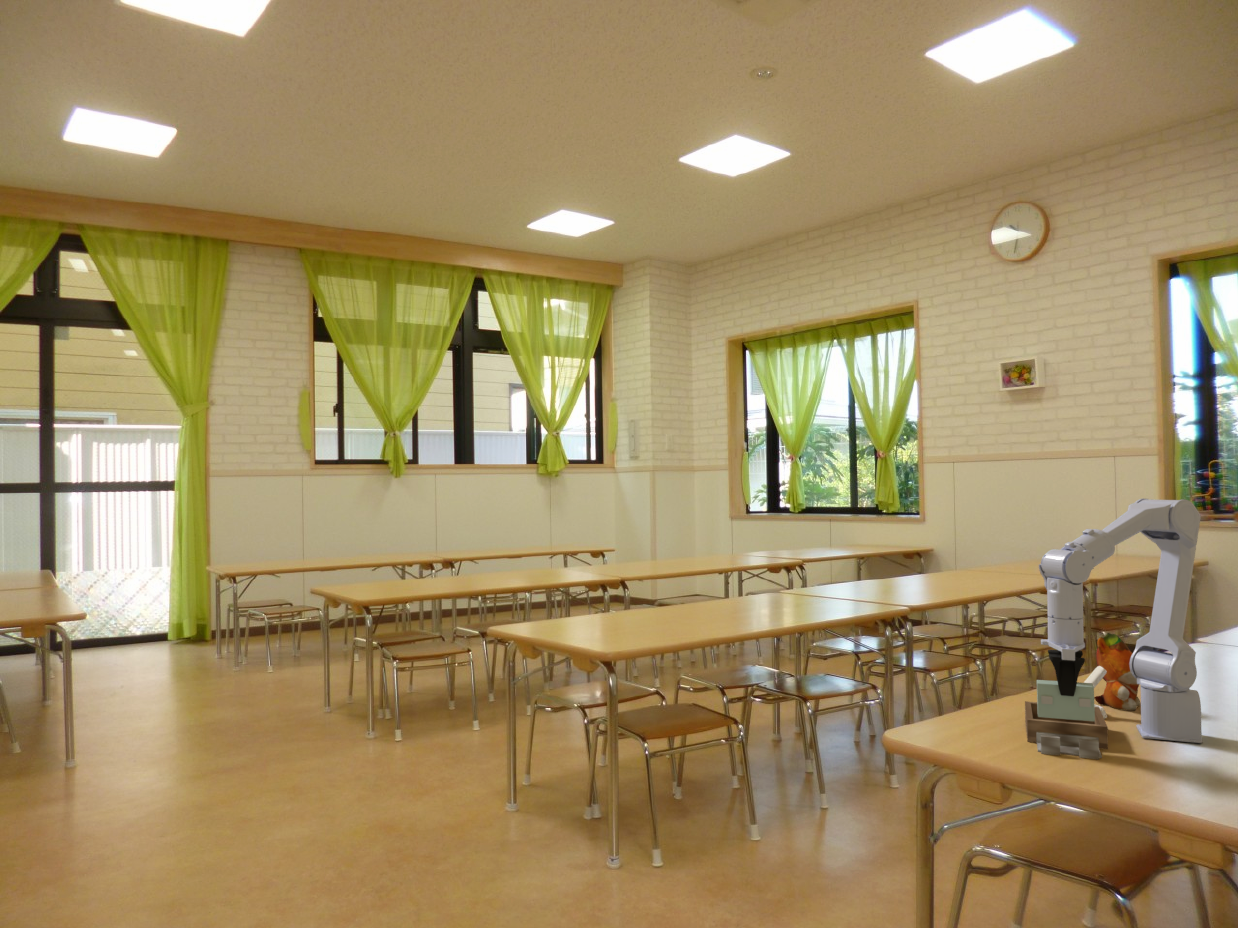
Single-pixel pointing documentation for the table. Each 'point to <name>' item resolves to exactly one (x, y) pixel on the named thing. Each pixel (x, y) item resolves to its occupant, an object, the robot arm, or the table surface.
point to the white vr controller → (1095, 679)
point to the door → (1065, 701)
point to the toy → (1117, 674)
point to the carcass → (1066, 734)
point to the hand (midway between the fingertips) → (1066, 692)
